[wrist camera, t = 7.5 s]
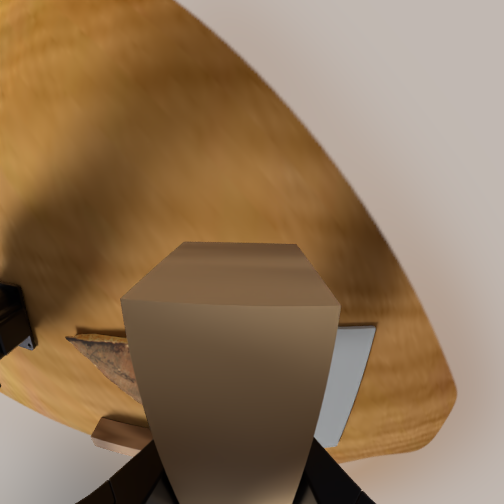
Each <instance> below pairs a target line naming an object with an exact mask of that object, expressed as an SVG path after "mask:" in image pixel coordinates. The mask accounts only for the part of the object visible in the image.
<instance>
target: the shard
mask: <svg viewBox="0 0 504 504" xmlns="http://www.w3.org/2000/svg"><path fill="white" fill-rule="evenodd" d="M65 338H66V339H67V340H68V341H69V342H71V343H72V344H73V345H74V346H75V348H76V349H78V350H79V352H80V353H82V354H83V355H84V356H85V357H87V358H88V359H89V360H90V361H91V362H92V363H93V364H94V365H95V366H96V367H97V368H98V369H99V370H100V371H101V372H102V373H103V374H104V375H105V376H106V377H107V378H108V379H109V380H110V381H112V382H113V383H114V384H116V385H117V386H118V387H119V388H120V389H121V390H122V391H124V392H125V393H126V394H128V395H129V396H131V397H132V398H133V399H134V400H136V401H137V402H138V403H140V404H141V405H143V404H142V400H141V397H140V393H139V389H138V385H137V382H136V378H135V373H134V369H133V365H132V360H131V356H130V351H129V346H128V341H127V338H123V337H122V338H120V337H113V336H108V335H101V334H78V335H75V336H66V337H65Z"/></svg>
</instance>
